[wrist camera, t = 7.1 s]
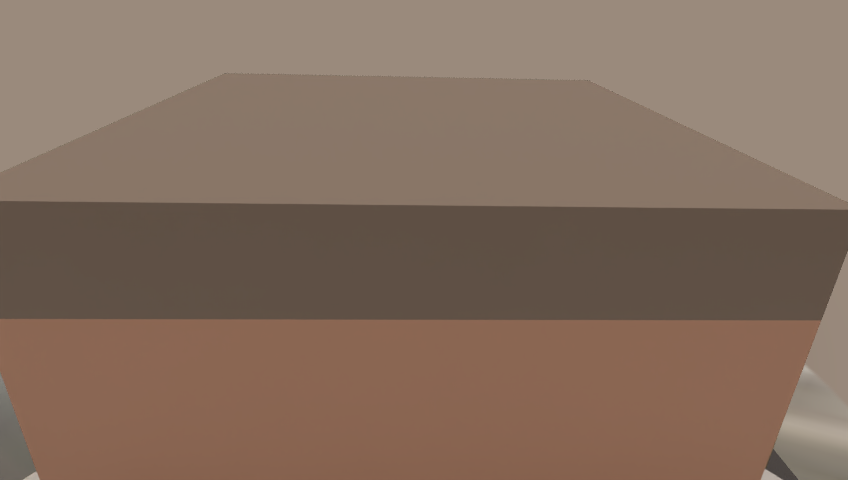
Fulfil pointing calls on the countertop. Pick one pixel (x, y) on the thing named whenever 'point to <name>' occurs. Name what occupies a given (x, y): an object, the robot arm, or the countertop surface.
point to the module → (407, 287)
